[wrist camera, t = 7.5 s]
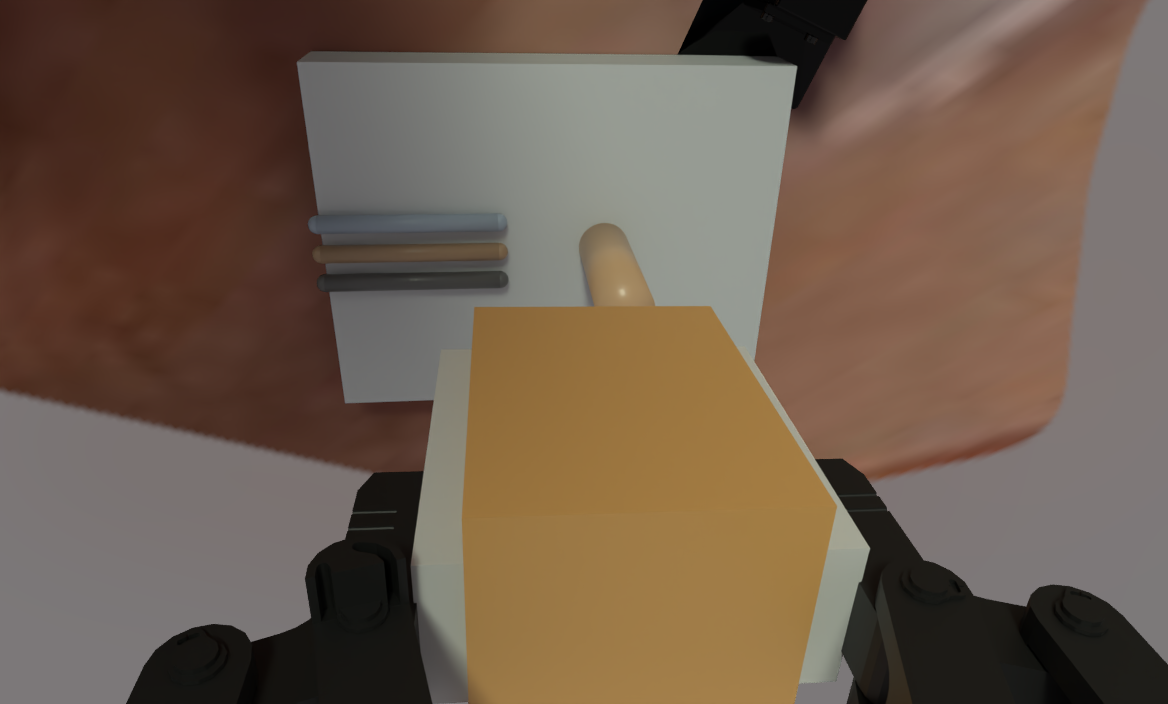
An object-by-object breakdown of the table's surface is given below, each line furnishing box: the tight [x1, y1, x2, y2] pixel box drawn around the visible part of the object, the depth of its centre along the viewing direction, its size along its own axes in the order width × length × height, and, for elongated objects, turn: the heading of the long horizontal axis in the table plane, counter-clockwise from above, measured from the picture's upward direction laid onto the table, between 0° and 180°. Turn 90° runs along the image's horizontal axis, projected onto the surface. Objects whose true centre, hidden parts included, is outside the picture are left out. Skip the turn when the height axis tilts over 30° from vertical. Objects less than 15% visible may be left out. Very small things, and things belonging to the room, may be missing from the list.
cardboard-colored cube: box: [462, 306, 837, 704], centre depth 15 cm, size 5×5×7 cm
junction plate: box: [297, 51, 797, 403], centre depth 30 cm, size 18×14×8 cm
